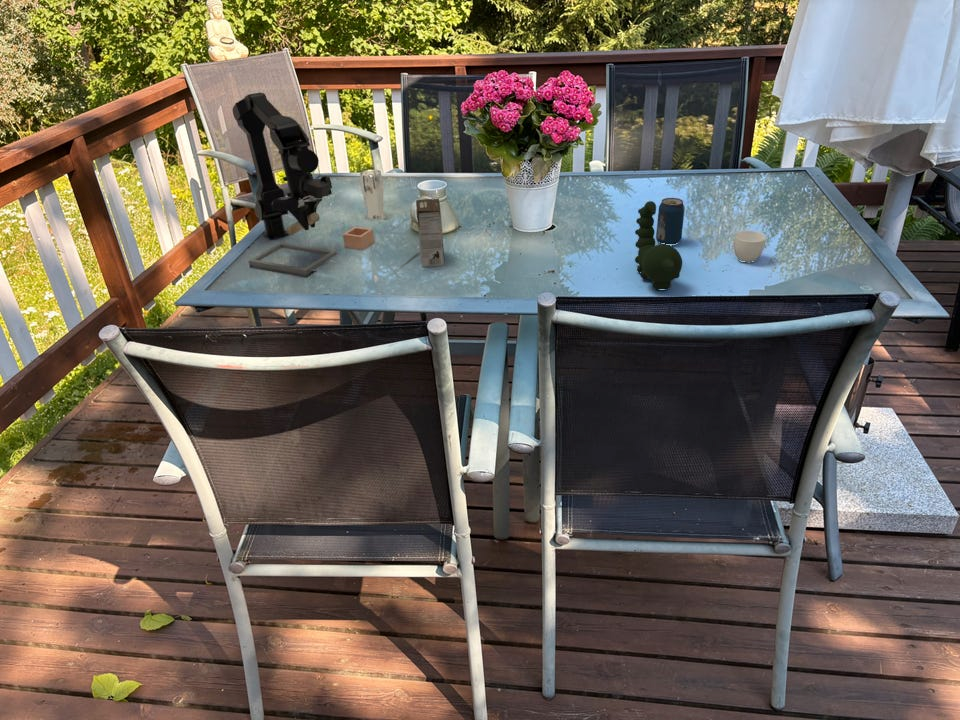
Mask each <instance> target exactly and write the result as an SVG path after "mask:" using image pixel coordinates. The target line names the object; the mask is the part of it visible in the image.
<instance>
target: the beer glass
mask: <svg viewBox="0 0 960 720" xmlns="http://www.w3.org/2000/svg"><path fill="white" fill-rule="evenodd" d="M359 179H360V189H361V194H362V196H363V197H362V198H363V200H364V204H365V208H366V218H367V219H371V220H377V219H378V220H383V221H384V220H386V219H387V217H386V213H385V210H384V195H385V193H384V182H383V181H384V180H383V177H382V171H381V170H378V169H365V170H363V171H361V172H360V173H359ZM385 218H386V219H385Z"/></svg>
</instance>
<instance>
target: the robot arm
mask: <svg viewBox="0 0 960 720" xmlns="http://www.w3.org/2000/svg"><path fill="white" fill-rule="evenodd" d="M232 115H233V117H234V119H235V120H236V123H237V126H238V127H239V128H240V129H241V130H242V131H243V132H244V134H245V135H246V140H247V142H248V146H249V150H250V151H249V152H250V154H251V158H252V161H253V165H254V170H255V175H256V178H257V183H258V187H257V190H256V193H255V198H256V202H255V206H254V213H255V216H256V218H257V219H259V220H260V221H261V222H263V224H264V228H265V229H264V230H265V231H264V232H262V235H263V236H264V237H266V238H267V239H269V240H270V241H271V240H275V239H278V238H282V237H286V236H288V235H289V234H288V233H287V230H286V229H285V223H284V218H283V216H284V215H288V214H289V213H290V214H291V215H292V216H293V217H294V218H295V219H296V220H297V221H296V222H299V223H300V224H301V225H302V227H303V228H304V229H303V230H305V231H309V230H310V227H311V228H315V227H316V222H315V223H313V224H311V225H308V219H307V216H309V215H310V214H312V213H314V212H316V213H317V209H318V206H319V204H320V203H321V202H323V198H324V197H329V196H330V195H332V189H333V186H332V181H331V178H330V176H328V175H323V176H321V177H320V178H317V179H316V178H314V176H313V174H312V173H313V172H315V171H316V170H317V168H318V167H319V157H318V156H317V154H316V153H315V151H313V150H311V149H309V147H310V146H311V143H310V142H309V141H310V138H309V137H308V136H307V134H306V132H305V131H304V129H303V128H302V126H301V124H300V123H298V122H297V120H295V119H294V118H292V117H291V116H286V115H283V114H281V112H280V111H279V110H278V109H277V108H276V107H275V106H274V105H273V103H271V102H270V101H269V99H268V97H267V96H266V94H265V93H264V92H260V91H259V92H256V93H255V92H254V93H249V94H247V95H245V96H244V98H242V99H240V100H239V101H237V102H236V103H234V105H233V107H232ZM265 127H267V128H268V129H269V136H270V139H271V142H272V143H273V144H274V146H275V148H277V149H278V154H279V155H280V159H281V163H282V167H283V170H284V171H283V172H284V177H282V180H283V182H287V186H288V191H289V192H286V195H287V196H286V195H285V193H284V192H285V191H284V190H283V189H282V188H281V187H279V185H278V184H277V183H276V180H275V177H274V172H273V168H272V165H271V159H270V156H269V151H268V148H267V144H266V143H267V142H266V139H265V134H264V131H265ZM309 226H310V227H309ZM289 236H290V235H289Z"/></svg>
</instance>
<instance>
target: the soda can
mask: <svg viewBox="0 0 960 720" xmlns="http://www.w3.org/2000/svg"><path fill="white" fill-rule="evenodd" d="M685 209H686V208H685V204H684V200H682V199H680V198H678V197H667V198H666V197H665V198H663V199H662V200H661V203H660V204H659V205H658V213H657V221H656V222H657V224H656V235H655V240H656V241H657V242H660V243H665V244H676V243H678V242H679V243H680V242H681V240H682V236H683V228H684V227H683V226H684V220H685ZM679 243H678V244H679Z"/></svg>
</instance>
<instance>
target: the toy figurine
mask: <svg viewBox="0 0 960 720" xmlns="http://www.w3.org/2000/svg"><path fill="white" fill-rule="evenodd" d="M656 212H657V205H656V203H655V202H654V201H652V200H649V201H646V203H645V204H644V206H642V207H641V208H639V209H638V211H637V213H638V214H639V218H636V221H635V222H636V224H638V226H639V228H638V229H635V230H634V234H635V235H636V236H637V237H638V239H637V241H636V242H635V244H634V245H635V247H636V248H637V249H638V251H637V256H635V258H634V262H635V263H636V264H638V266H637V269H636V272H637V271H638V272H641V273H639V275H640V278H641V279H643V280H648V279H649V280H650V281H652V286H653V289H654V288H655V289H654V290H656V289H667V290H669V289H670V288H671V285H672V282H671V281H674V280H675V279H679V277H680V275H681V274H680V272H681V271H682V267H683V258H682V256H681V254H680V251H678V249H676V248H675V247H674V246H670V245H666V244H659V243H658V244H656V238H655V237H654V236H655V228H654V223H655V218H654V217H653V216H655V215H656ZM638 272H637V273H638ZM668 288H669V289H668Z"/></svg>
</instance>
